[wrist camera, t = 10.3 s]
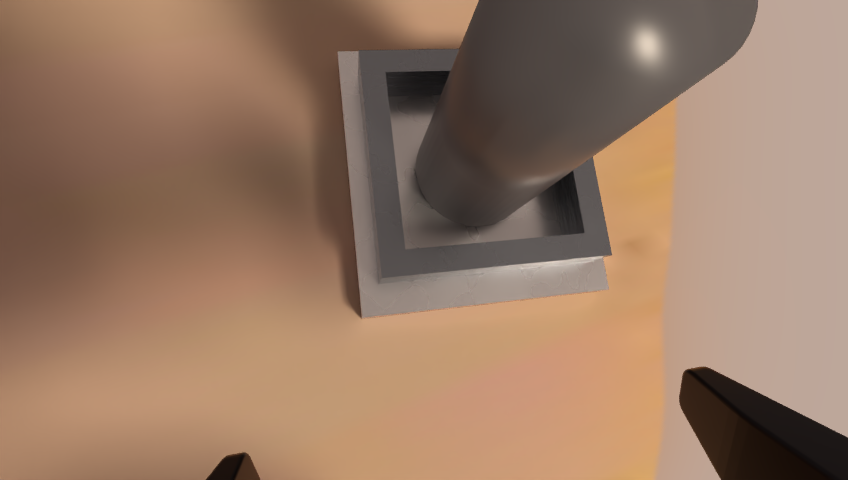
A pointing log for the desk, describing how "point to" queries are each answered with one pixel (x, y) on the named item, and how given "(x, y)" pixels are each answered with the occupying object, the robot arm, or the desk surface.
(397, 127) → the square tray
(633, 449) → the desk surface
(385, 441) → the desk surface
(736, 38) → the grey domed cylinder
